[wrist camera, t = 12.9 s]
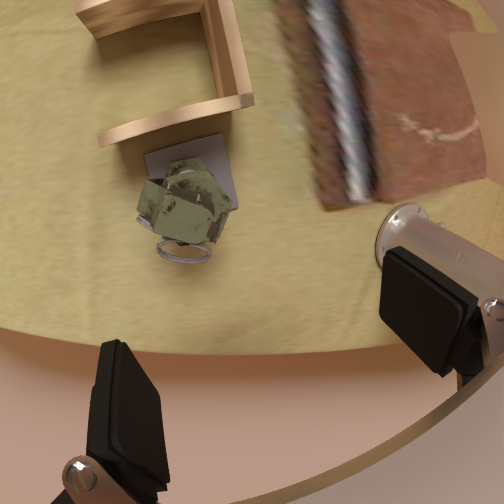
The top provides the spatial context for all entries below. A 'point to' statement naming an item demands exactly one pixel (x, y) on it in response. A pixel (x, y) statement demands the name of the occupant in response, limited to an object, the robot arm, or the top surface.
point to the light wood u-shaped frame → (218, 43)
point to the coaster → (206, 150)
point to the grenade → (185, 207)
